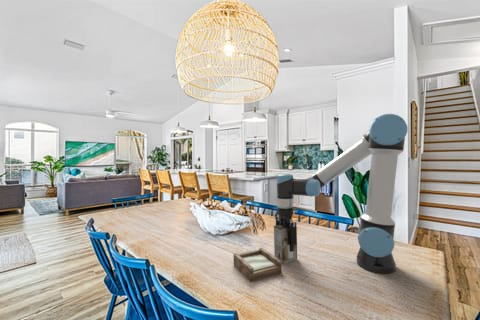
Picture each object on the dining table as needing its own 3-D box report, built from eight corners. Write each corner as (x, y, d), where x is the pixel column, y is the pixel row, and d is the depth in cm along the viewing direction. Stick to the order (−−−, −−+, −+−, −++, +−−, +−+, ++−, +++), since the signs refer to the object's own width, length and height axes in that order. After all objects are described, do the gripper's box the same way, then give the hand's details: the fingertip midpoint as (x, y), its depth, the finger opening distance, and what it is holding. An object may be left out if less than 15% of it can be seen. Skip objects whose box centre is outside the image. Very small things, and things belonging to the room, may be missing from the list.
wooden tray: (281, 273, 98) (281, 261, 98) (250, 281, 91) (250, 268, 91) (262, 258, 112) (261, 247, 112) (233, 265, 106) (233, 253, 106)
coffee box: (289, 254, 116) (288, 222, 116) (297, 259, 110) (297, 226, 110) (273, 258, 111) (273, 225, 111) (282, 264, 106) (281, 229, 106)
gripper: (305, 209, 103) (305, 261, 104) (279, 202, 121) (280, 246, 121) (291, 211, 100) (292, 264, 100) (267, 203, 118) (268, 249, 118)
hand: (285, 254), depth 111 cm, fingers closed on coffee box, 6 cm apart
